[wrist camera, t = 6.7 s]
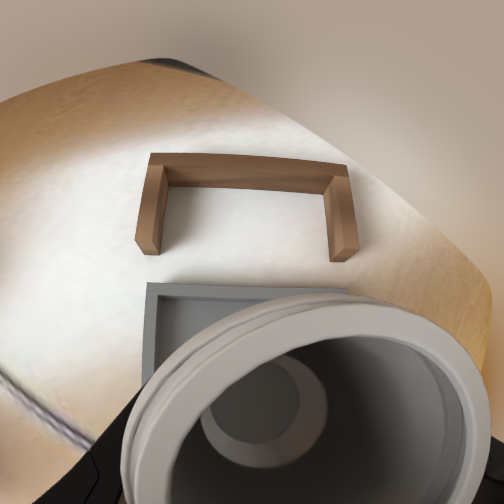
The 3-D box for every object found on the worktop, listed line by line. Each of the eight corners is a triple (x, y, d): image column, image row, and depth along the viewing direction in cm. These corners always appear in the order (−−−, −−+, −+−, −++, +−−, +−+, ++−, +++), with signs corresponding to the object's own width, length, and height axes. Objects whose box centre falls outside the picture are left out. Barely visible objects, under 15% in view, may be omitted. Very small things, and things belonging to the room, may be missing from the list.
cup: (197, 468, 13) (163, 636, 1) (176, 347, 15) (62, 301, 4) (330, 444, 14) (497, 529, 2) (311, 328, 16) (480, 246, 5)
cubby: (343, 262, 24) (359, 249, 21) (144, 254, 22) (134, 239, 19) (334, 184, 26) (346, 165, 23) (156, 174, 25) (150, 152, 22)
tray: (336, 466, 18) (346, 473, 16) (150, 469, 17) (144, 478, 15) (336, 294, 23) (346, 288, 21) (153, 289, 22) (147, 282, 20)
